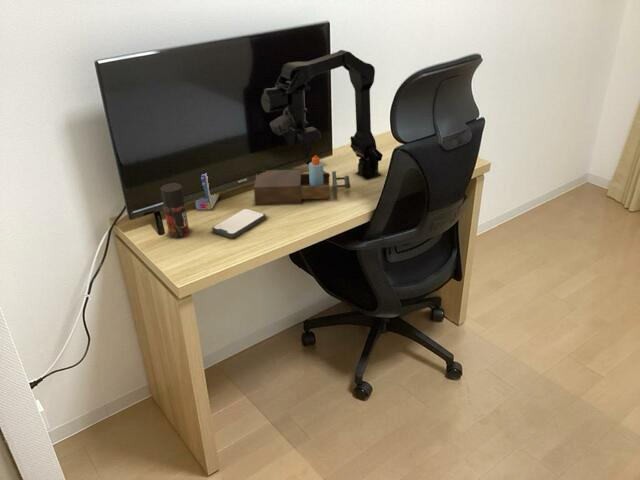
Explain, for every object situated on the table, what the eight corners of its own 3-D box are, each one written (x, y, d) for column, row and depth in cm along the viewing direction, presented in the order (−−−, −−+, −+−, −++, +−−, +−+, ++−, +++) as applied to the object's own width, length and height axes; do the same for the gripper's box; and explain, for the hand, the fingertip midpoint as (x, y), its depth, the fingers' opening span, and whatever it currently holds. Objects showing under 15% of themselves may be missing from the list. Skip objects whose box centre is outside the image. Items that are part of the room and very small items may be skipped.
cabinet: (301, 186, 198) (301, 169, 195) (301, 203, 186) (300, 185, 183) (258, 187, 198) (257, 170, 195) (255, 205, 186) (253, 187, 183)
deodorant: (171, 228, 174) (163, 183, 167) (191, 228, 174) (183, 182, 167) (166, 238, 169) (158, 191, 162) (186, 238, 169) (178, 191, 161)
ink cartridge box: (203, 196, 193) (197, 155, 186) (219, 196, 193) (214, 156, 186) (194, 209, 185) (188, 167, 178) (211, 210, 184) (205, 168, 177)
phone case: (245, 212, 183) (210, 232, 171) (245, 207, 182) (210, 227, 171) (267, 218, 179) (233, 240, 167) (267, 214, 178) (232, 235, 166)
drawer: (348, 183, 197) (348, 170, 195) (350, 198, 186) (350, 185, 184) (295, 185, 197) (294, 172, 195) (294, 200, 186) (293, 187, 184)
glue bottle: (318, 185, 194) (317, 152, 188) (326, 189, 191) (325, 156, 185) (307, 188, 192) (305, 155, 186) (314, 193, 188) (313, 159, 183)
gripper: (258, 103, 180) (262, 151, 188) (288, 118, 166) (291, 169, 174) (289, 97, 185) (291, 143, 193) (320, 111, 171) (322, 160, 179)
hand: (298, 153), depth 184 cm, fingers open, 9 cm apart
